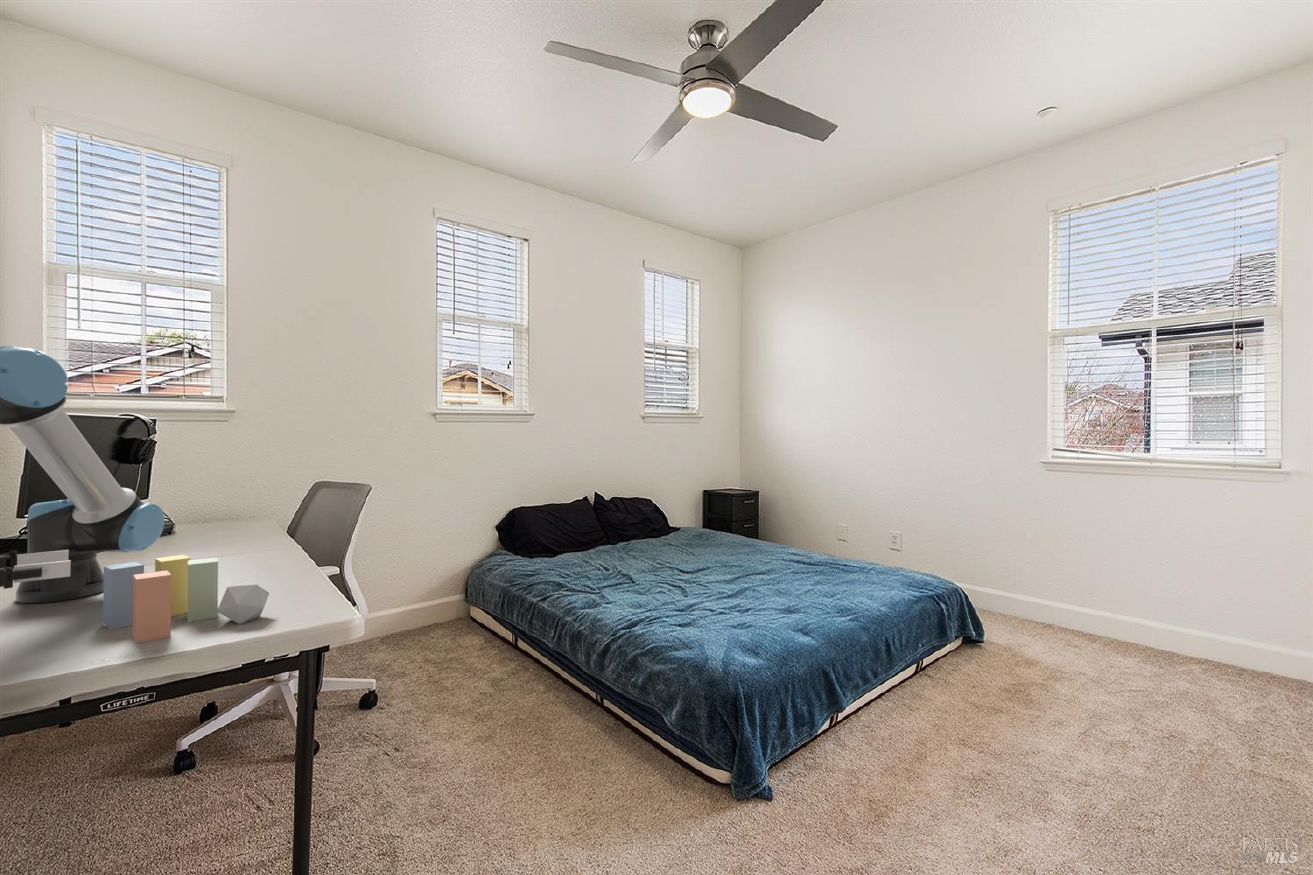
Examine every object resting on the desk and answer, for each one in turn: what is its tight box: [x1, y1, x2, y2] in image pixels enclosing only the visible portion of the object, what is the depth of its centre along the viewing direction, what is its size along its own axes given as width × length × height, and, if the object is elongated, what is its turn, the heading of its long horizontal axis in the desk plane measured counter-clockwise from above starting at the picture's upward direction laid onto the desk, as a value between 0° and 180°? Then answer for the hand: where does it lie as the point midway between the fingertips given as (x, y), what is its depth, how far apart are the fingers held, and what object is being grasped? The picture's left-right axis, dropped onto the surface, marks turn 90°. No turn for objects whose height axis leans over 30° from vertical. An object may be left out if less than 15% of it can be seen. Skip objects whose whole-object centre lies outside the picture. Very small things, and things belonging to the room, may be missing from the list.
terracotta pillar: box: [132, 571, 172, 644], centre depth 110 cm, size 5×5×12 cm
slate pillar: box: [102, 561, 145, 630], centre depth 117 cm, size 5×5×12 cm
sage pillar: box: [186, 557, 219, 623], centre depth 122 cm, size 5×5×12 cm
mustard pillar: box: [154, 554, 192, 617], centre depth 124 cm, size 5×5×12 cm
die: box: [217, 580, 270, 625], centre depth 120 cm, size 8×9×10 cm
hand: (69, 562), depth 103 cm, fingers open, 13 cm apart
